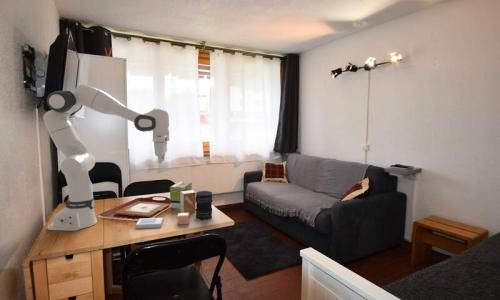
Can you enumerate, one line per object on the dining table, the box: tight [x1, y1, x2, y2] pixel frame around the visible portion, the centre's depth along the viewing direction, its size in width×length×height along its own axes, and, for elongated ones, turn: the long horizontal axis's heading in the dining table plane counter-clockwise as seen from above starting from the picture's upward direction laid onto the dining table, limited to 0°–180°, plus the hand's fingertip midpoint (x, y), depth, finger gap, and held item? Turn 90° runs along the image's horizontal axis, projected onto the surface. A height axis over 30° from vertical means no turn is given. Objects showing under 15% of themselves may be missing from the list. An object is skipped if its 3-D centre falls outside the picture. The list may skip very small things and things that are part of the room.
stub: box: [177, 212, 190, 225], centre depth 153 cm, size 6×5×5 cm
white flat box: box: [135, 217, 164, 229], centre depth 150 cm, size 13×9×2 cm
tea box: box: [169, 181, 193, 209], centre depth 184 cm, size 15×10×15 cm
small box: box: [179, 189, 196, 214], centre depth 171 cm, size 8×6×13 cm
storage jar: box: [195, 190, 213, 221], centre depth 162 cm, size 10×10×15 cm
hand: (161, 161), depth 154 cm, fingers open, 8 cm apart
